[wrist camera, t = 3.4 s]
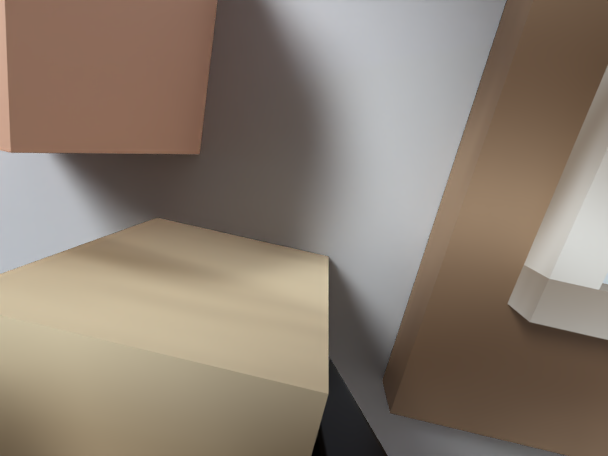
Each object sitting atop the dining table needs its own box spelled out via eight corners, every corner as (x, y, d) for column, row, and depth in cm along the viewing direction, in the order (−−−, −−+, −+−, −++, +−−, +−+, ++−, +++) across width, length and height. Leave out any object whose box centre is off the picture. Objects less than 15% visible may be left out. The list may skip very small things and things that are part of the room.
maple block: (293, 400, 10) (257, 647, 5) (144, 364, 10) (-39, 569, 5) (328, 256, 8) (328, 393, 4) (157, 217, 9) (-69, 298, 4)
